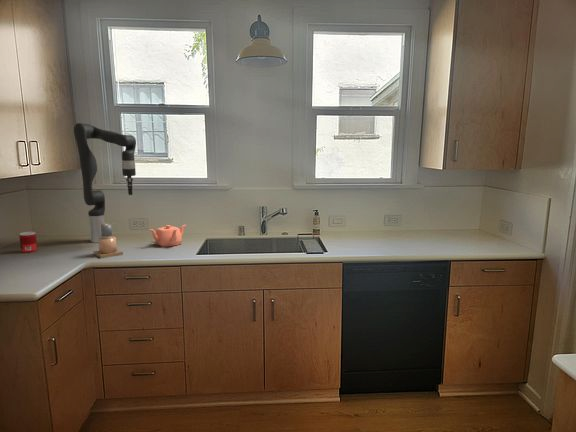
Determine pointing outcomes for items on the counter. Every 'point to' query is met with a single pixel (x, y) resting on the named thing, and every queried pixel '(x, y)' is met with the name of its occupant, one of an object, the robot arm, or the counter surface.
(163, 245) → the pot
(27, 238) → the canned food
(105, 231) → the cap
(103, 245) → the canister
